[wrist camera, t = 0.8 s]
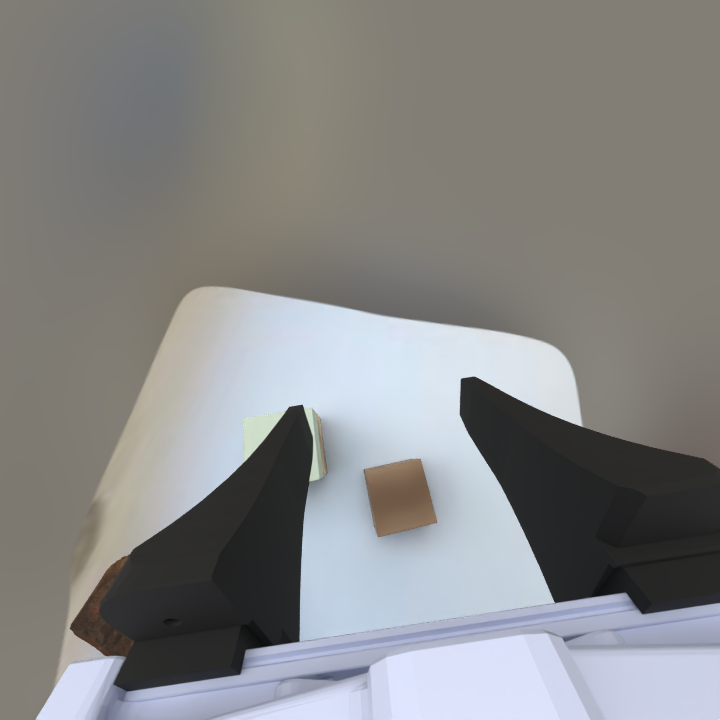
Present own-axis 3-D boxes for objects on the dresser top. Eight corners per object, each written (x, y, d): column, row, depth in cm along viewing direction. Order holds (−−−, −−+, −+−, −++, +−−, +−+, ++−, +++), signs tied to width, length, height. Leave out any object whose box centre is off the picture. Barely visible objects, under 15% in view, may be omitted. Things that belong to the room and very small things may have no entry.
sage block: (323, 476, 21) (319, 479, 18) (259, 488, 20) (244, 493, 18) (316, 413, 23) (311, 407, 20) (256, 423, 22) (243, 418, 19)
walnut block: (424, 513, 23) (437, 522, 20) (374, 525, 22) (378, 537, 19) (411, 458, 24) (420, 459, 21) (363, 469, 24) (365, 471, 21)
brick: (123, 595, 20) (60, 633, 16) (158, 540, 22) (109, 561, 17) (240, 672, 19) (208, 737, 15) (270, 609, 20) (249, 651, 16)
